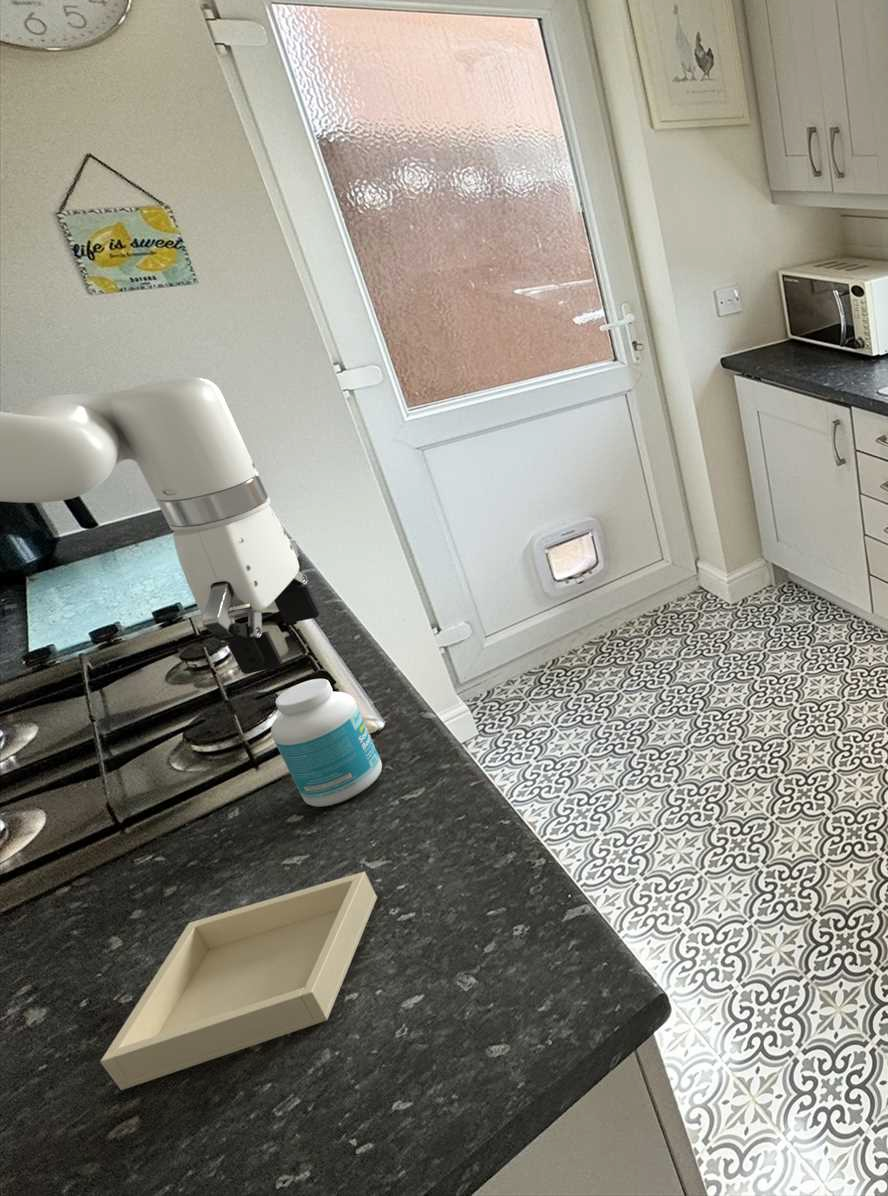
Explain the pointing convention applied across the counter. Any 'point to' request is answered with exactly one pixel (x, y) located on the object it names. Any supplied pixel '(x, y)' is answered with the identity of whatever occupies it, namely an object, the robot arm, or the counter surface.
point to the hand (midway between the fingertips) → (284, 642)
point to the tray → (243, 980)
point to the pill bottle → (324, 743)
